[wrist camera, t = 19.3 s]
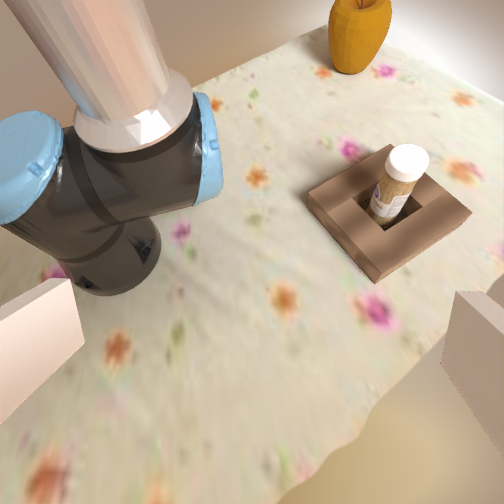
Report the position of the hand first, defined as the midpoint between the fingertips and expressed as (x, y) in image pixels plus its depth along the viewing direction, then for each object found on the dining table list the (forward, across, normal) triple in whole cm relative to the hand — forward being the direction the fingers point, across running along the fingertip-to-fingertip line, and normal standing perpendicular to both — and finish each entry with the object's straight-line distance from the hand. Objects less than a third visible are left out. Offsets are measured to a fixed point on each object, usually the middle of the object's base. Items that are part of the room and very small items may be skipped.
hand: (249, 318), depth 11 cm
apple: (+67, +13, +20) cm, 71 cm away
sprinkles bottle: (+41, +15, -6) cm, 44 cm away
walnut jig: (+40, +15, -6) cm, 44 cm away
